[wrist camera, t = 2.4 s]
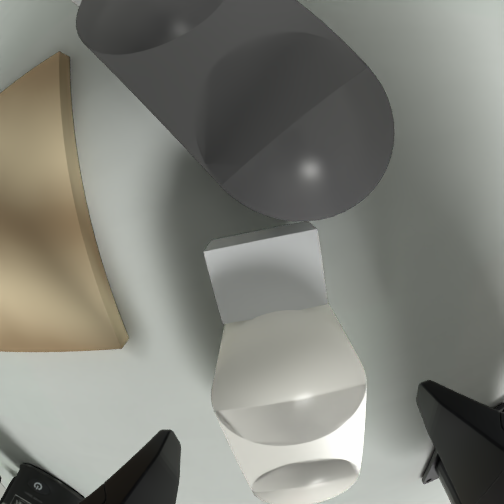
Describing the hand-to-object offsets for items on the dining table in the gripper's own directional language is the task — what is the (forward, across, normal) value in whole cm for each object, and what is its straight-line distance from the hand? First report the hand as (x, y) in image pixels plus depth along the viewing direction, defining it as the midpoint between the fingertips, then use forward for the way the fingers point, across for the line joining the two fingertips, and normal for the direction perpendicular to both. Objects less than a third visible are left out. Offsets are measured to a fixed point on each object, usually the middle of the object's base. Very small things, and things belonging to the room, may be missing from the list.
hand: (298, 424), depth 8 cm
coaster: (+3, +12, -9) cm, 15 cm away
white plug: (+3, 0, 0) cm, 3 cm away
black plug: (+3, 0, -11) cm, 11 cm away
